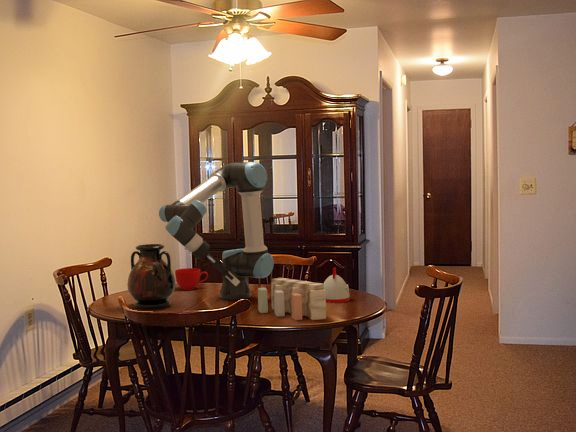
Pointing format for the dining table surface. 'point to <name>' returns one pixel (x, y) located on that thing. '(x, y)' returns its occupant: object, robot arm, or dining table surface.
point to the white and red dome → (336, 289)
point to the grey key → (279, 303)
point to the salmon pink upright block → (296, 306)
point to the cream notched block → (310, 294)
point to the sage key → (262, 300)
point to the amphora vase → (151, 277)
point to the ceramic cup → (188, 278)
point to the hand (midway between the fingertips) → (237, 283)
